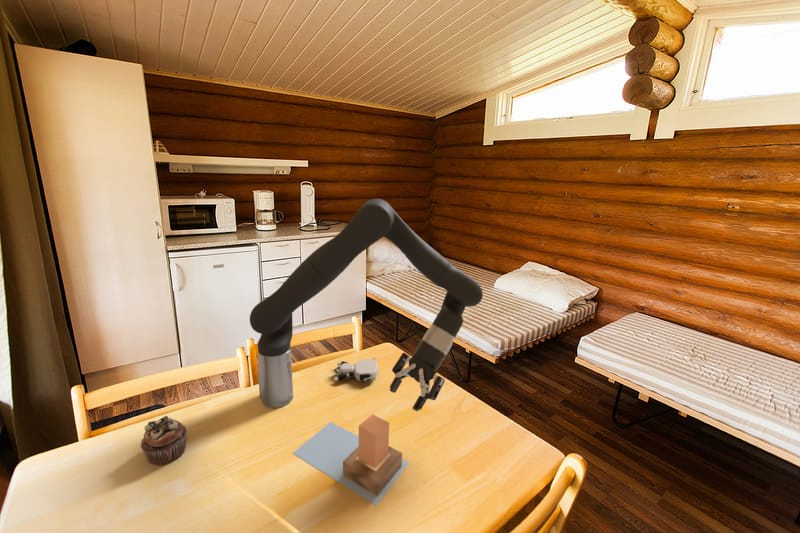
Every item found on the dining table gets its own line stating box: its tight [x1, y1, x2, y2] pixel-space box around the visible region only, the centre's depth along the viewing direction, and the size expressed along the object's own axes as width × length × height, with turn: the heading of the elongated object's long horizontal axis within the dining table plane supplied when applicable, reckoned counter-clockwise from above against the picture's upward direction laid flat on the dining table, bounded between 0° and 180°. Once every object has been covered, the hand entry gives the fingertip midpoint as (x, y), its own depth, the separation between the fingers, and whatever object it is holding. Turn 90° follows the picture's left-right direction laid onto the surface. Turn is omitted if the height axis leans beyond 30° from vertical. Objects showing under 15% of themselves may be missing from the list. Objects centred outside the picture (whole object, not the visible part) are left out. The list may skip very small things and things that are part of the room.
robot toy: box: [333, 357, 379, 382], centre depth 126 cm, size 12×4×15 cm
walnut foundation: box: [343, 446, 403, 496], centre depth 86 cm, size 10×10×4 cm
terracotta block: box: [358, 413, 390, 468], centre depth 85 cm, size 5×5×9 cm
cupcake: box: [140, 415, 188, 467], centre depth 89 cm, size 10×10×10 cm
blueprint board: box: [292, 421, 410, 506], centre depth 90 cm, size 26×14×1 cm, turn 58°
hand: (403, 400), depth 94 cm, fingers open, 8 cm apart
